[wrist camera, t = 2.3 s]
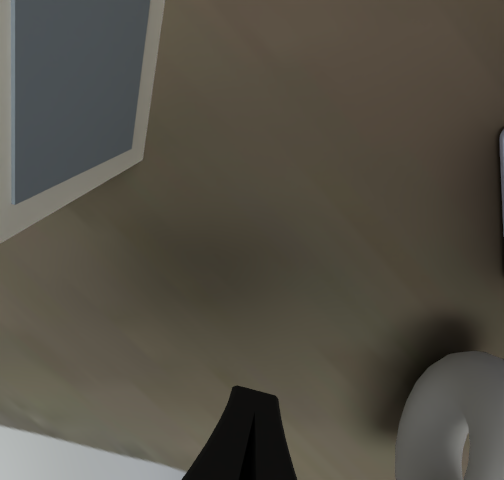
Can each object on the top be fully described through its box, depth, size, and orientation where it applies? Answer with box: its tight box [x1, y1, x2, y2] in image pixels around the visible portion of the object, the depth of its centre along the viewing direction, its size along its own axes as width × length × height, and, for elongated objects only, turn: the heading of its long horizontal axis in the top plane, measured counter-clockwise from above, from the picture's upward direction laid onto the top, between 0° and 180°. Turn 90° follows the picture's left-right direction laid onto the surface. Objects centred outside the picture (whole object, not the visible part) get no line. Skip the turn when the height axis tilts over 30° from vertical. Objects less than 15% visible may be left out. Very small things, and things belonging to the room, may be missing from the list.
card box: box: [0, 0, 165, 243], centre depth 13 cm, size 4×9×12 cm, turn 165°
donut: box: [395, 351, 504, 480], centre depth 19 cm, size 10×4×10 cm, turn 163°
